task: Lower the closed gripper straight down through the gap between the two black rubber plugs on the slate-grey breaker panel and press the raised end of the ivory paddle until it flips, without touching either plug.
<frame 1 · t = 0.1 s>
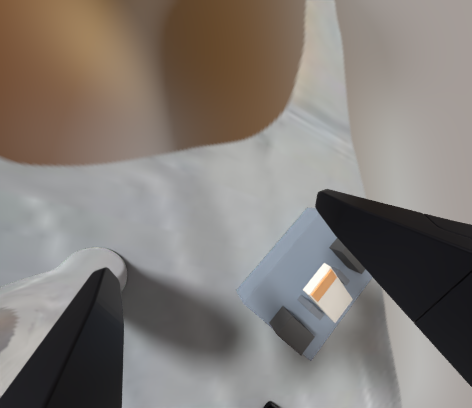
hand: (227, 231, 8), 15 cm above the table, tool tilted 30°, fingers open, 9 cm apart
breaker paddle: (330, 295, 21), point 5 cm above the table, hinge at -18.0°
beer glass: (95, 275, 20), on the table
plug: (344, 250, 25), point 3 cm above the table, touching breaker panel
breaker panel: (302, 276, 27), on the table
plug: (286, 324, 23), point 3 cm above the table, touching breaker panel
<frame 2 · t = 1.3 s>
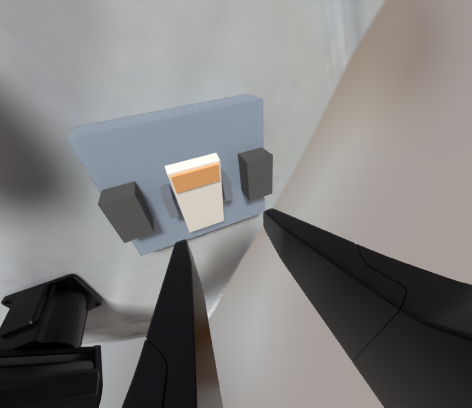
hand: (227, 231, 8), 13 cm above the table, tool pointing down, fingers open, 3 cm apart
breaker paddle: (200, 200, 16), point 5 cm above the table, hinge at -18.0°
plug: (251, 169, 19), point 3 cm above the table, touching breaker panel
breaker panel: (188, 172, 20), on the table
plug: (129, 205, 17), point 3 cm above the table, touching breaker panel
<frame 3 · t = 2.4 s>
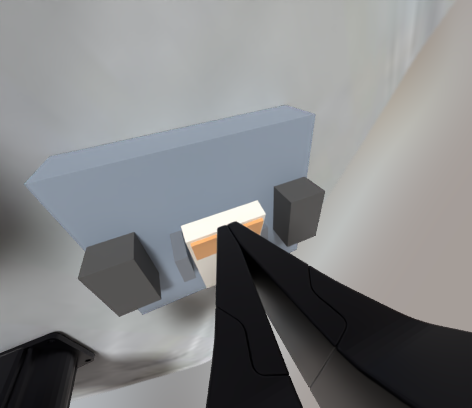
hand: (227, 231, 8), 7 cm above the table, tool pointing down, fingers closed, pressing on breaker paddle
breaker paddle: (226, 255, 12), point 5 cm above the table, hinge at -18.0°, touching gripper
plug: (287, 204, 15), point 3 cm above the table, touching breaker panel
breaker panel: (204, 205, 15), on the table
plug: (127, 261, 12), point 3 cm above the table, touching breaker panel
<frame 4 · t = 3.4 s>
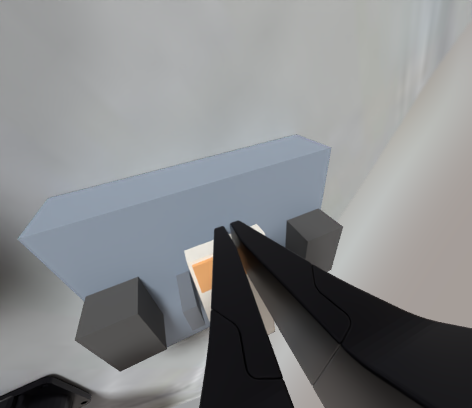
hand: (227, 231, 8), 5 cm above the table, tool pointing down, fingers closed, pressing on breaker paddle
breaker paddle: (238, 300, 11), point 5 cm above the table, hinge at 6.6°, touching gripper
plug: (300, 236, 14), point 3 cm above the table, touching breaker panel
breaker panel: (211, 237, 15), on the table
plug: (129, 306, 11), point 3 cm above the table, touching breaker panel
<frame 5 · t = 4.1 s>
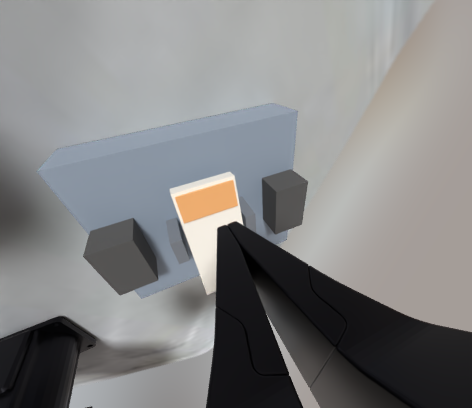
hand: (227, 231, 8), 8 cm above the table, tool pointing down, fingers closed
breaker paddle: (217, 239, 13), point 5 cm above the table, hinge at 9.6°
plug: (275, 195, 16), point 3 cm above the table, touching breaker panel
breaker panel: (198, 196, 17), on the table
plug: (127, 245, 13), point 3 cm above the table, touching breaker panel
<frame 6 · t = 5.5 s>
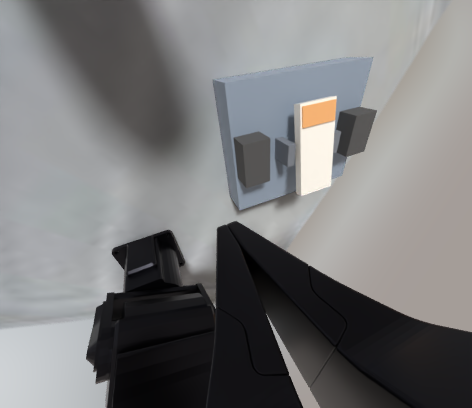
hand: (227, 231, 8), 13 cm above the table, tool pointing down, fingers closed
breaker paddle: (314, 149, 18), point 5 cm above the table, hinge at 10.4°
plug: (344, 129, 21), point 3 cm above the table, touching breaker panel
breaker panel: (282, 133, 22), on the table
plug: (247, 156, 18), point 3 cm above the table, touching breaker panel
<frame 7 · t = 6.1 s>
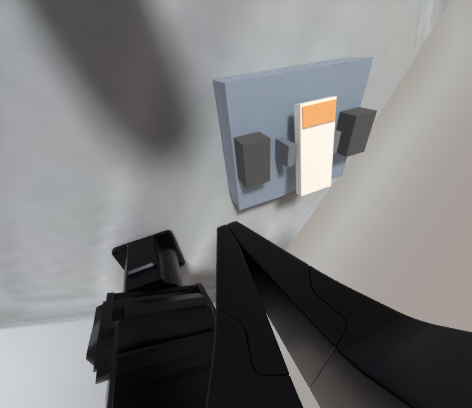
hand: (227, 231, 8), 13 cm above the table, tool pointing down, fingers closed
breaker paddle: (315, 149, 18), point 5 cm above the table, hinge at 10.5°
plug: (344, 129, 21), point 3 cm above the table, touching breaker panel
breaker panel: (282, 133, 22), on the table
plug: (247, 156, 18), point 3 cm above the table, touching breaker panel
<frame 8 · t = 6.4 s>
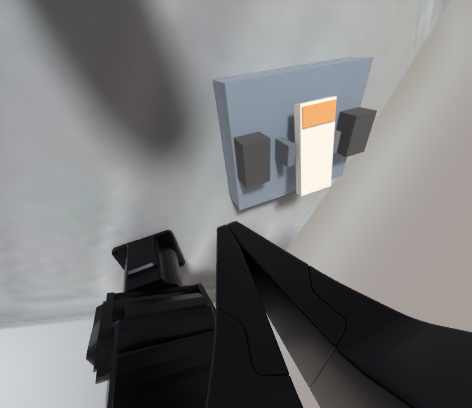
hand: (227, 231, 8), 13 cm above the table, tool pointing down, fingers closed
breaker paddle: (315, 149, 18), point 5 cm above the table, hinge at 10.5°
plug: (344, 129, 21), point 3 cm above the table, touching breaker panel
breaker panel: (282, 133, 22), on the table
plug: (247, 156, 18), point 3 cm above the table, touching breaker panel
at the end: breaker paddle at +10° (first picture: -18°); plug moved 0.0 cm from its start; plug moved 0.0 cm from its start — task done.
